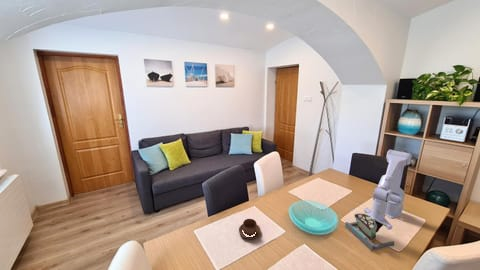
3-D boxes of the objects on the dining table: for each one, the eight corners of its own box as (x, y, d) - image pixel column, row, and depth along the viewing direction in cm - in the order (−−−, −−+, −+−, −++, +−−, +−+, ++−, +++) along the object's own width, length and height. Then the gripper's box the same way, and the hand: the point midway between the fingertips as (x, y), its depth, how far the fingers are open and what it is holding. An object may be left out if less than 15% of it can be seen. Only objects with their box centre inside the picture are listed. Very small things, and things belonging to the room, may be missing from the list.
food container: (385, 240, 95) (382, 225, 93) (374, 245, 95) (371, 229, 93) (366, 223, 107) (364, 209, 105) (357, 227, 107) (353, 213, 104)
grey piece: (365, 222, 111) (366, 217, 110) (394, 245, 95) (395, 239, 94) (345, 226, 108) (345, 221, 107) (371, 251, 92) (372, 244, 91)
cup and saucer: (262, 227, 108) (263, 218, 106) (257, 243, 97) (257, 233, 95) (242, 223, 111) (242, 214, 110) (235, 238, 100) (235, 228, 99)
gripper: (361, 202, 104) (357, 223, 108) (386, 219, 91) (381, 243, 94) (371, 200, 106) (367, 221, 109) (397, 217, 92) (392, 240, 95)
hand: (374, 231), depth 102 cm, fingers closed
